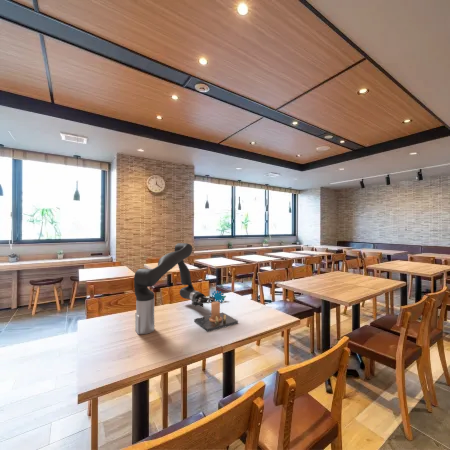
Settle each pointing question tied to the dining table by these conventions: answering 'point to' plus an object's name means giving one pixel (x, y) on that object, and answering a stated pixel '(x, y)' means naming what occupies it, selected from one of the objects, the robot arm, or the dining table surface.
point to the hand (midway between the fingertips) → (209, 304)
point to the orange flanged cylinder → (215, 312)
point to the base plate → (212, 325)
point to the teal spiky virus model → (218, 296)
